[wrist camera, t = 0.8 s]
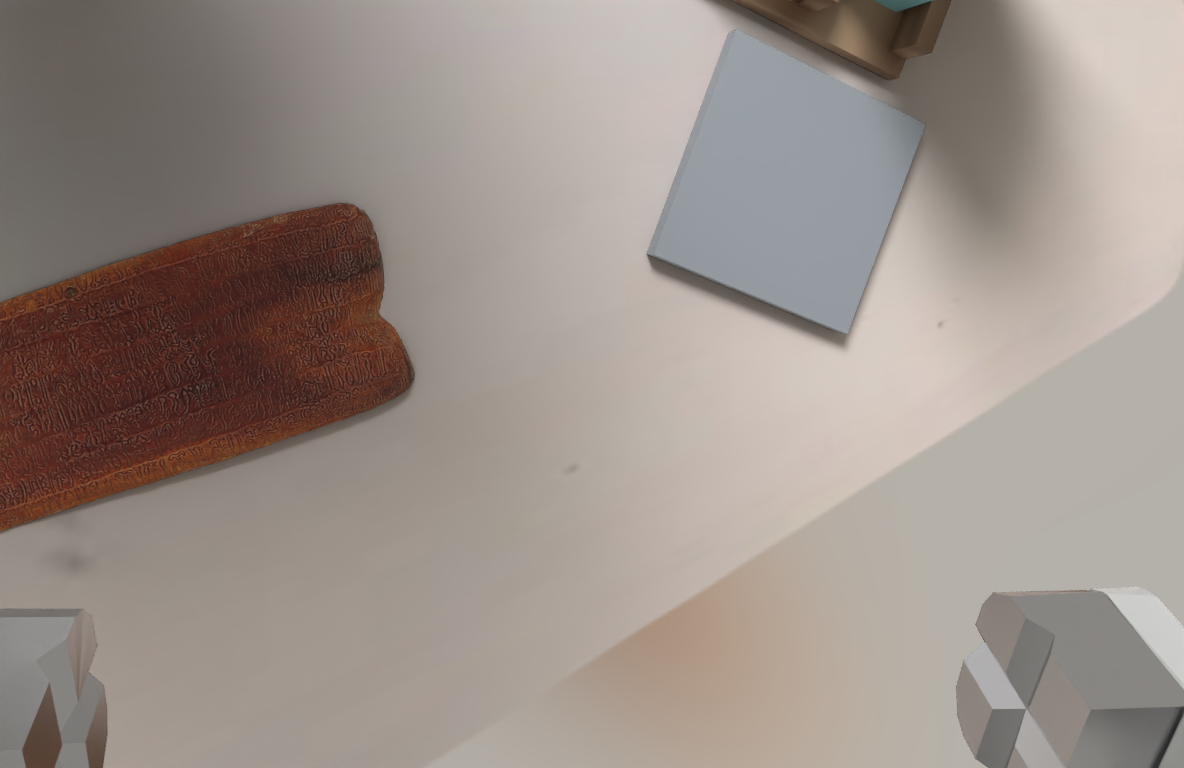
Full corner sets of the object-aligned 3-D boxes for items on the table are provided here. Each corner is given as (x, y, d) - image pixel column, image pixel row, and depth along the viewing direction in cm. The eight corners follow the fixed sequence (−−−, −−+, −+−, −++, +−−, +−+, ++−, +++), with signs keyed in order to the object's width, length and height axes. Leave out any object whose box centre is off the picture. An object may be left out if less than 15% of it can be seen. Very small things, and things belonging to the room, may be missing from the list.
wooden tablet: (358, 190, 53) (362, 189, 51) (422, 388, 55) (428, 392, 54) (-261, 369, 46) (-278, 374, 45) (-160, 585, 49) (-173, 597, 47)
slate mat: (646, 254, 57) (653, 254, 56) (728, 32, 57) (736, 29, 56) (838, 332, 61) (847, 334, 60) (915, 125, 61) (925, 124, 60)
